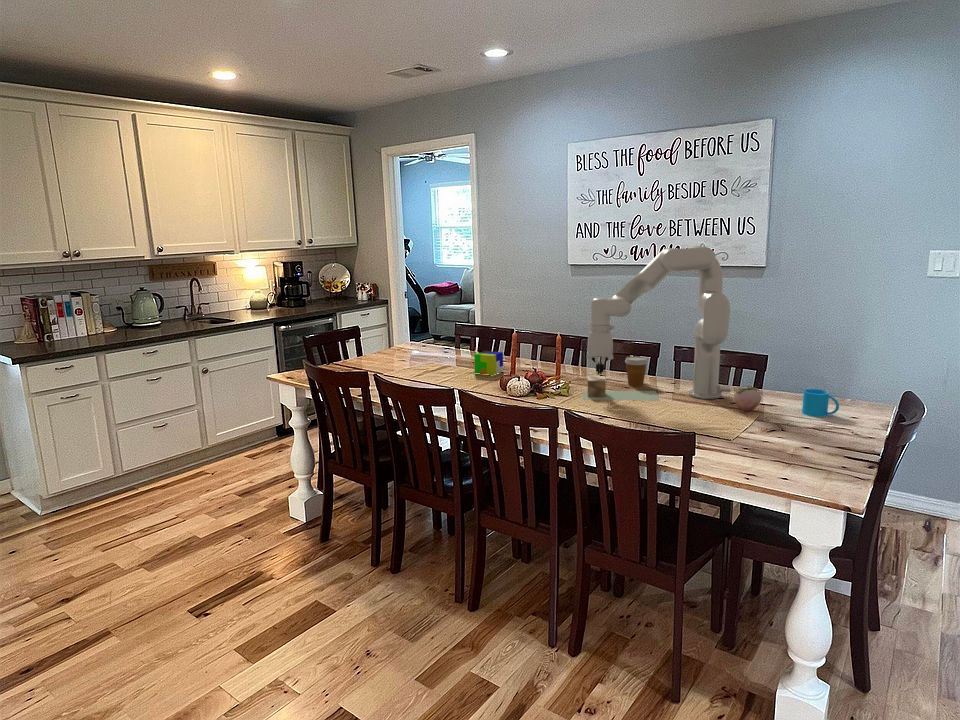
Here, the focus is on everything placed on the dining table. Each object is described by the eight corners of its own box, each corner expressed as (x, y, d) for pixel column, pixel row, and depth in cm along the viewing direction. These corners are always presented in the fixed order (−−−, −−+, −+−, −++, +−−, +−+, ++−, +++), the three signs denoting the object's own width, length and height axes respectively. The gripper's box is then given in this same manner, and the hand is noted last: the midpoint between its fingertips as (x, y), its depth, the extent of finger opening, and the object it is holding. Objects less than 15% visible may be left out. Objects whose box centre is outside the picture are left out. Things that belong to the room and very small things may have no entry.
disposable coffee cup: (624, 387, 276) (624, 360, 273) (624, 382, 285) (625, 355, 283) (647, 388, 274) (647, 360, 271) (646, 383, 283) (647, 356, 280)
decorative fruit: (747, 407, 242) (749, 381, 240) (764, 412, 234) (766, 386, 232) (727, 410, 238) (729, 384, 236) (743, 416, 231) (745, 389, 229)
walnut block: (587, 376, 266) (587, 392, 267) (588, 380, 259) (587, 396, 260) (604, 376, 265) (604, 392, 266) (605, 380, 258) (605, 397, 259)
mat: (655, 392, 267) (655, 391, 267) (660, 401, 253) (660, 400, 252) (582, 391, 271) (582, 390, 271) (582, 400, 257) (582, 399, 257)
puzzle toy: (503, 372, 311) (502, 352, 309) (492, 376, 302) (492, 355, 301) (485, 370, 316) (485, 350, 314) (474, 374, 308) (474, 354, 306)
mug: (798, 413, 232) (799, 391, 231) (807, 409, 238) (809, 387, 236) (833, 420, 224) (835, 397, 222) (842, 415, 229) (844, 393, 227)
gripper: (618, 327, 260) (617, 371, 264) (581, 327, 262) (580, 371, 266) (620, 330, 253) (619, 375, 257) (581, 330, 255) (581, 375, 259)
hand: (599, 373), depth 261 cm, fingers closed
